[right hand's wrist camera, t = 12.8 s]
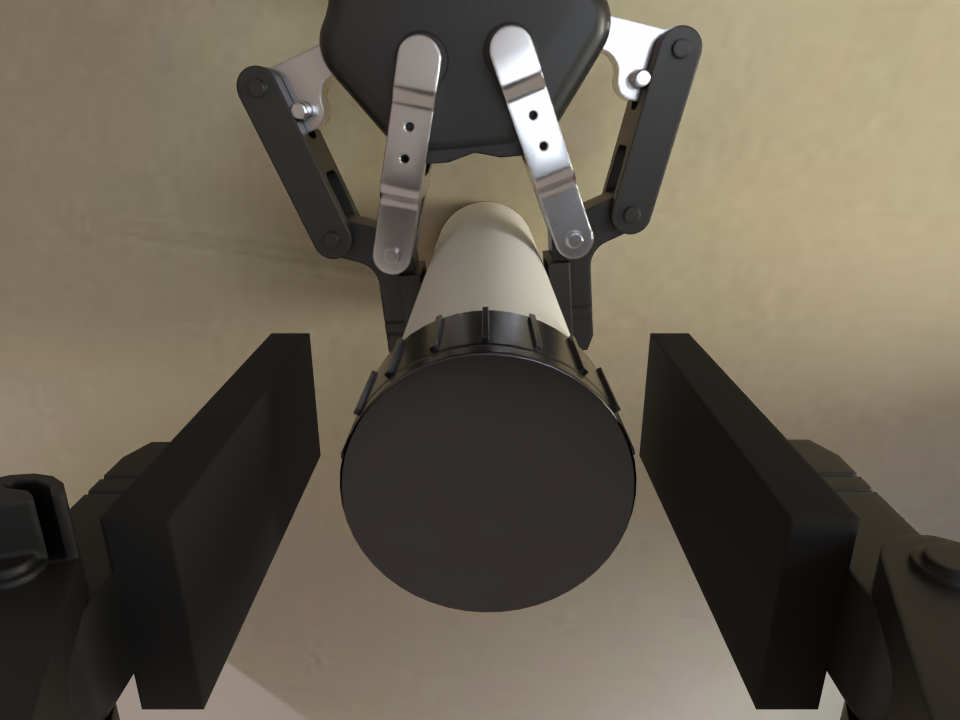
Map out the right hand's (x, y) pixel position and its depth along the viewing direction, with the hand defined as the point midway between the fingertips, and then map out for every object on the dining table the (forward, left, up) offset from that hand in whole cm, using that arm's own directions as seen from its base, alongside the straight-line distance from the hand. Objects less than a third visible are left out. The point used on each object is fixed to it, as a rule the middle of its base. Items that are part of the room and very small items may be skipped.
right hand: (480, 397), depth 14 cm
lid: (0, 0, +3) cm, 3 cm away
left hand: (+2, +2, -10) cm, 10 cm away
